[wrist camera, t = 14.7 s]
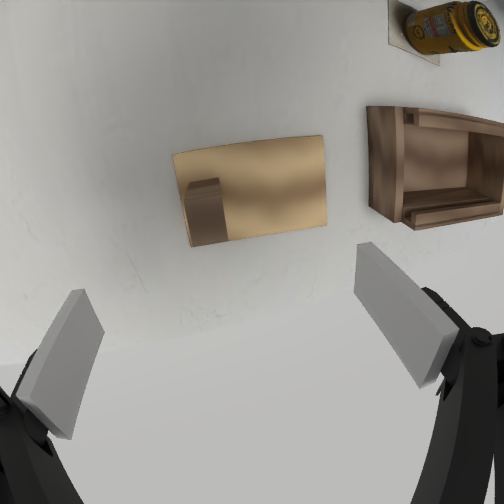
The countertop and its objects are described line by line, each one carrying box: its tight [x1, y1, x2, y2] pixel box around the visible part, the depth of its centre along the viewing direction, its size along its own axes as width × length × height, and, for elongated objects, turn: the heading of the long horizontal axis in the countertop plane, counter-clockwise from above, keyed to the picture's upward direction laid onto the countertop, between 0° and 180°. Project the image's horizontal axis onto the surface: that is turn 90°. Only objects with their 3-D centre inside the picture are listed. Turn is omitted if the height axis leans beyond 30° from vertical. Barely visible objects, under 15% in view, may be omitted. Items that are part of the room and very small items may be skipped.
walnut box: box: [366, 106, 504, 231], centre depth 27 cm, size 12×18×8 cm, turn 97°
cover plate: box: [173, 135, 327, 247], centre depth 27 cm, size 10×15×8 cm, turn 97°
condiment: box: [388, 0, 500, 66], centre depth 18 cm, size 7×8×12 cm
